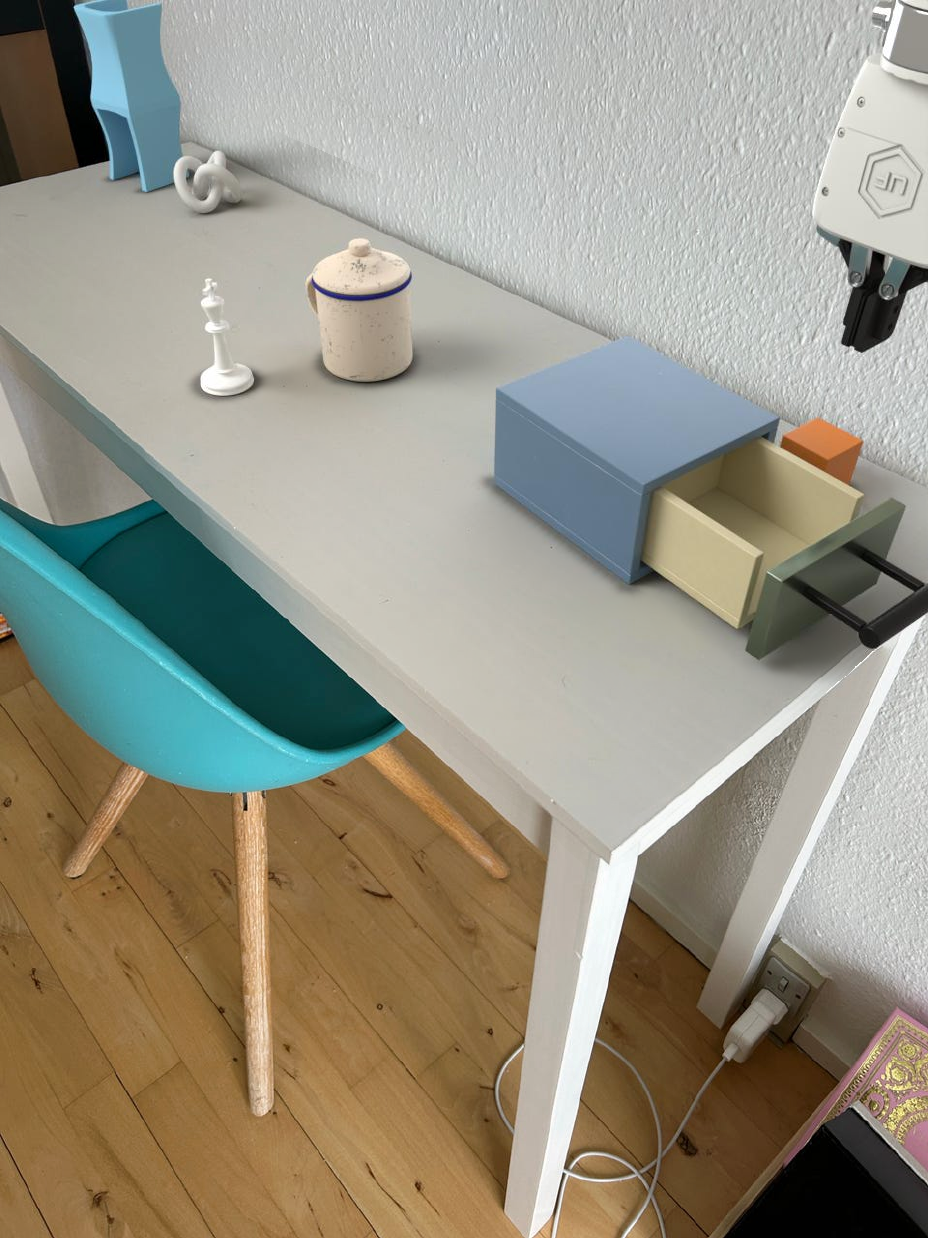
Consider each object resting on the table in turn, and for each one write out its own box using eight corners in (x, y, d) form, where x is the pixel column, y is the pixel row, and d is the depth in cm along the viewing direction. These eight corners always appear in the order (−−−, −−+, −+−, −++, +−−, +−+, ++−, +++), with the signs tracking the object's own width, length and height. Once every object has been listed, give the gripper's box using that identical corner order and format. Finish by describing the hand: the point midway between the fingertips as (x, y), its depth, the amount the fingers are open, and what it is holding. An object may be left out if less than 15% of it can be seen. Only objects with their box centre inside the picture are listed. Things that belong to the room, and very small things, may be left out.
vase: (194, 175, 132) (162, 3, 118) (146, 191, 127) (108, 15, 114) (157, 162, 135) (122, -6, 122) (109, 178, 131) (68, 5, 117)
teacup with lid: (434, 357, 95) (431, 238, 87) (370, 395, 90) (361, 272, 82) (345, 321, 101) (335, 206, 93) (280, 355, 95) (263, 236, 87)
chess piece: (190, 390, 91) (168, 286, 84) (219, 365, 94) (199, 264, 87) (236, 400, 89) (217, 295, 82) (263, 375, 93) (247, 272, 86)
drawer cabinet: (756, 514, 77) (780, 417, 70) (629, 585, 70) (644, 484, 64) (616, 428, 86) (627, 335, 80) (493, 483, 80) (495, 387, 74)
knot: (258, 198, 126) (251, 150, 122) (225, 221, 120) (217, 171, 116) (207, 191, 128) (199, 143, 124) (173, 212, 122) (163, 164, 118)
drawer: (949, 628, 66) (986, 549, 61) (831, 714, 60) (862, 634, 55) (720, 487, 78) (737, 411, 73) (604, 548, 72) (614, 470, 67)
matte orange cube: (849, 486, 79) (864, 440, 76) (814, 506, 77) (828, 459, 74) (805, 462, 82) (818, 416, 79) (770, 480, 80) (782, 434, 77)
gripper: (804, 25, 57) (741, 319, 69) (1055, 84, 49) (931, 406, 61) (878, 5, 60) (805, 289, 73) (1123, 57, 52) (993, 367, 65)
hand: (863, 342), depth 67 cm, fingers closed
